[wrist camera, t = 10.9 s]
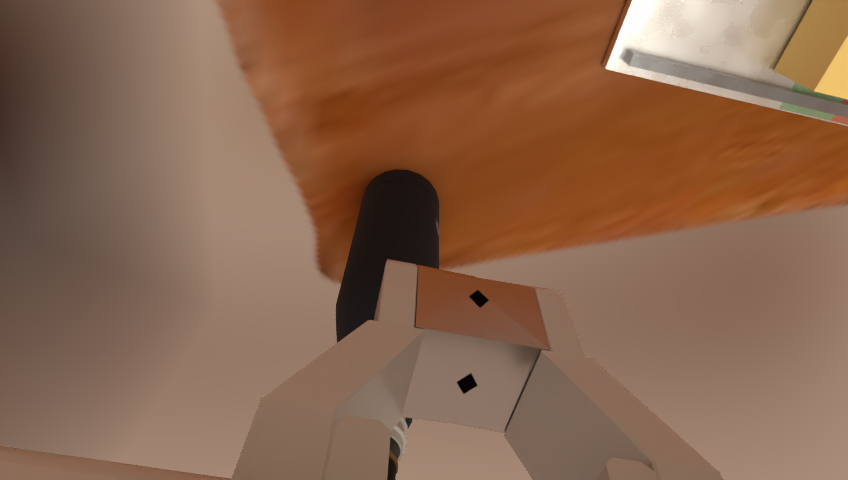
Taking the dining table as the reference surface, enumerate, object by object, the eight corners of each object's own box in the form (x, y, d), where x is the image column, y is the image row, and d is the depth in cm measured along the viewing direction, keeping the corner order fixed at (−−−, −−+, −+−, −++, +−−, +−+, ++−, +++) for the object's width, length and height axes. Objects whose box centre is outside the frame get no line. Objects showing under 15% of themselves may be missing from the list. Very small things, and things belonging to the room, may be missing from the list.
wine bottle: (347, 200, 46) (233, 578, 20) (402, 154, 43) (352, 515, 18) (399, 249, 48) (355, 639, 23) (454, 207, 46) (475, 591, 20)
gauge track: (670, -112, 34) (720, -115, 28) (1035, -12, 36) (1153, 5, 30) (601, 65, 39) (630, 94, 33) (920, 140, 42) (1000, 180, 36)
